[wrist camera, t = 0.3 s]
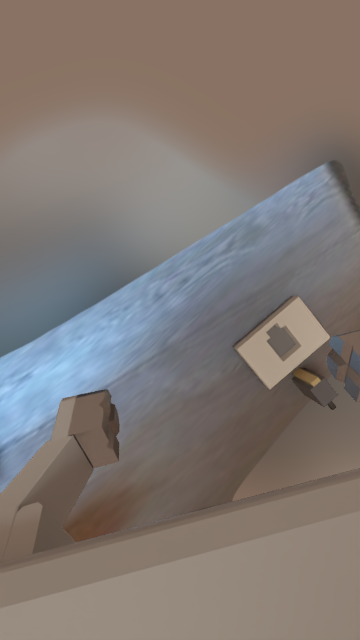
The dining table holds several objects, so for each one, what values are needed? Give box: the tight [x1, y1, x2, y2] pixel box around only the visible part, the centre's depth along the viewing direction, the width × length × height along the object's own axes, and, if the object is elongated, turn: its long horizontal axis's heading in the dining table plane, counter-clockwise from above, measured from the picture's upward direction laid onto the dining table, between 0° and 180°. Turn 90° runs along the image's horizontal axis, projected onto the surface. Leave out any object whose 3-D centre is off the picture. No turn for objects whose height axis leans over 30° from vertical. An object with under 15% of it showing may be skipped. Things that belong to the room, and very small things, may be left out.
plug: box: [292, 368, 338, 410], centre depth 64 cm, size 9×4×8 cm, turn 40°
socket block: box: [233, 297, 330, 389], centre depth 64 cm, size 12×18×4 cm, turn 130°
